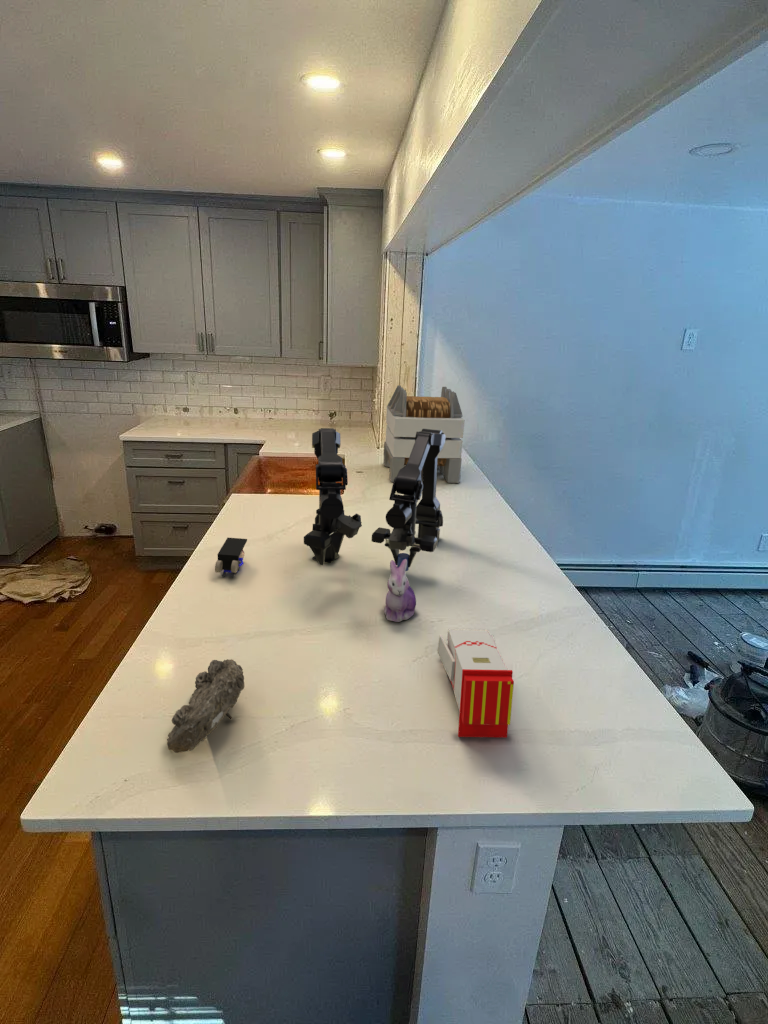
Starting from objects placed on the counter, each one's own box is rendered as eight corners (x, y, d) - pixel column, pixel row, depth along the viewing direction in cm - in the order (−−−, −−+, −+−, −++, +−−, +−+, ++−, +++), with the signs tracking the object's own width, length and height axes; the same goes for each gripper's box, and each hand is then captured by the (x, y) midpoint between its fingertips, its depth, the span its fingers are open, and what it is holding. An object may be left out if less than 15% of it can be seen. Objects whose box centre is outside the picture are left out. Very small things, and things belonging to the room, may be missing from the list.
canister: (395, 570, 168) (395, 556, 166) (399, 565, 171) (400, 552, 169) (406, 572, 167) (407, 558, 165) (410, 567, 170) (411, 554, 168)
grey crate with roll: (382, 463, 289) (386, 382, 275) (445, 464, 293) (451, 384, 279) (390, 482, 257) (394, 392, 243) (460, 483, 261) (468, 394, 247)
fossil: (192, 660, 117) (244, 628, 112) (224, 691, 120) (276, 661, 115) (142, 746, 98) (202, 712, 93) (182, 779, 101) (242, 748, 96)
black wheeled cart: (238, 584, 162) (249, 557, 175) (236, 562, 158) (247, 536, 172) (215, 584, 161) (227, 556, 175) (212, 561, 158) (225, 535, 171)
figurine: (392, 627, 141) (395, 572, 136) (374, 608, 149) (376, 556, 144) (425, 619, 145) (429, 566, 140) (405, 601, 154) (408, 550, 149)
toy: (488, 613, 130) (523, 677, 101) (484, 667, 133) (517, 744, 104) (435, 612, 130) (455, 676, 101) (432, 666, 133) (451, 743, 103)
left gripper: (341, 521, 141) (340, 578, 147) (371, 500, 158) (369, 552, 163) (302, 514, 145) (302, 569, 150) (335, 494, 161) (334, 544, 167)
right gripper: (365, 520, 159) (364, 571, 164) (430, 531, 153) (426, 583, 159) (379, 508, 169) (377, 556, 174) (440, 518, 163) (436, 567, 169)
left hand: (329, 558), depth 157 cm, fingers open, 9 cm apart
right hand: (403, 565), depth 169 cm, fingers closed on canister, 3 cm apart
